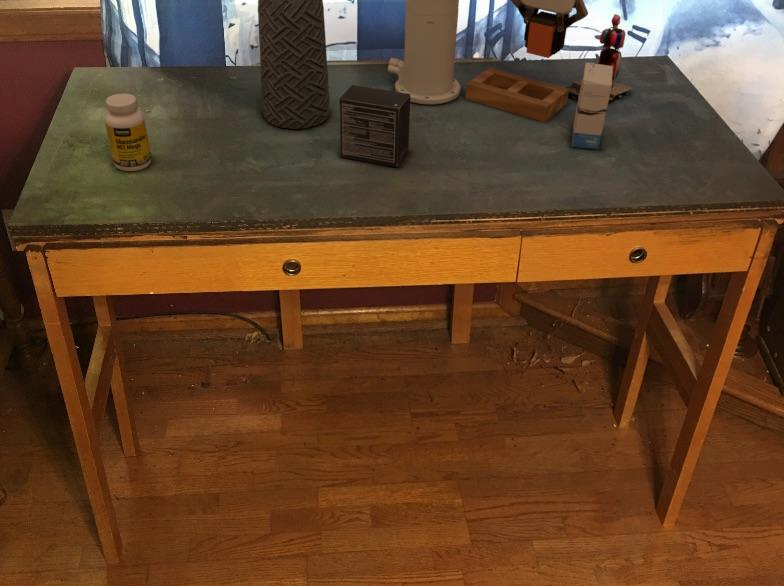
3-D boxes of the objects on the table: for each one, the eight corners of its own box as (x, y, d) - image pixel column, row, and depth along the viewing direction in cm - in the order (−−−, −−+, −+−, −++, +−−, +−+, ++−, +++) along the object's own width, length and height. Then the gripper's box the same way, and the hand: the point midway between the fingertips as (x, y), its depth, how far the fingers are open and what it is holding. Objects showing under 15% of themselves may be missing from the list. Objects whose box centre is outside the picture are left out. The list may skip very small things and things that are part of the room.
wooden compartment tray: (545, 122, 157) (547, 106, 155) (465, 99, 163) (466, 83, 161) (566, 104, 162) (569, 88, 160) (488, 82, 169) (490, 67, 167)
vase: (251, 122, 154) (235, -48, 135) (282, 96, 162) (271, -68, 143) (312, 135, 151) (305, -37, 132) (340, 108, 159) (337, -58, 140)
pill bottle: (119, 175, 140) (105, 110, 132) (109, 159, 144) (95, 95, 136) (156, 167, 142) (145, 103, 134) (146, 151, 146) (134, 88, 138)
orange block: (526, 52, 154) (530, 18, 150) (537, 45, 156) (541, 10, 152) (548, 58, 152) (553, 23, 148) (559, 50, 155) (564, 16, 151)
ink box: (599, 150, 149) (613, 84, 141) (570, 147, 150) (582, 81, 142) (600, 128, 155) (613, 64, 147) (572, 125, 156) (584, 61, 148)
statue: (589, 85, 172) (608, 5, 163) (629, 98, 167) (651, 17, 158) (558, 94, 165) (576, 11, 156) (599, 109, 160) (620, 24, 151)
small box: (410, 151, 148) (412, 92, 140) (398, 169, 143) (400, 108, 136) (352, 141, 150) (352, 82, 143) (339, 157, 145) (338, 98, 138)
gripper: (615, -60, 140) (595, 52, 153) (522, -77, 147) (510, 32, 159) (596, -49, 136) (577, 66, 148) (502, -67, 142) (491, 44, 155)
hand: (543, 47), depth 154 cm, fingers closed on orange block, 4 cm apart
